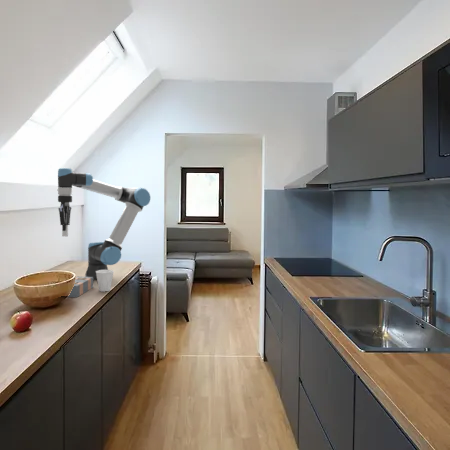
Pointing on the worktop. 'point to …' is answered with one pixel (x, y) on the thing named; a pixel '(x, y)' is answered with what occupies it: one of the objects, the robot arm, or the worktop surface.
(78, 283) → the block
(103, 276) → the cup
